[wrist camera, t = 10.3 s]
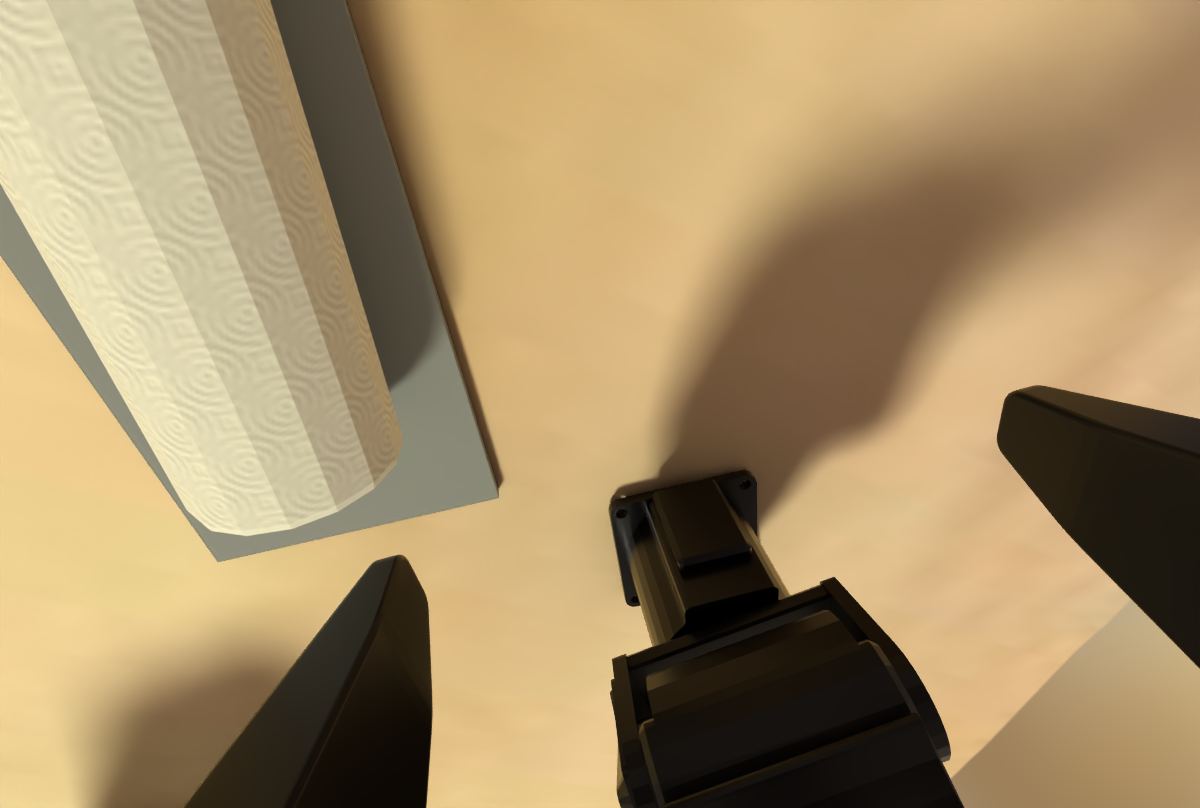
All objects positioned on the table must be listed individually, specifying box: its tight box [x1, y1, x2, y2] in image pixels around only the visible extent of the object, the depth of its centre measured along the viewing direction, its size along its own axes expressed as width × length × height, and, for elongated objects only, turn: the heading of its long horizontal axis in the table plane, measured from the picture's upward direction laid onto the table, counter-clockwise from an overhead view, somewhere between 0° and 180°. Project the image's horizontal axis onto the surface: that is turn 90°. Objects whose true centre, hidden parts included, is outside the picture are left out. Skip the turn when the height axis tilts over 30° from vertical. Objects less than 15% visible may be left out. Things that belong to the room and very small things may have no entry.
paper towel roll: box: [0, 0, 403, 536], centre depth 13 cm, size 7×6×21 cm
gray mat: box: [0, 0, 499, 562], centre depth 17 cm, size 24×11×1 cm, turn 9°
